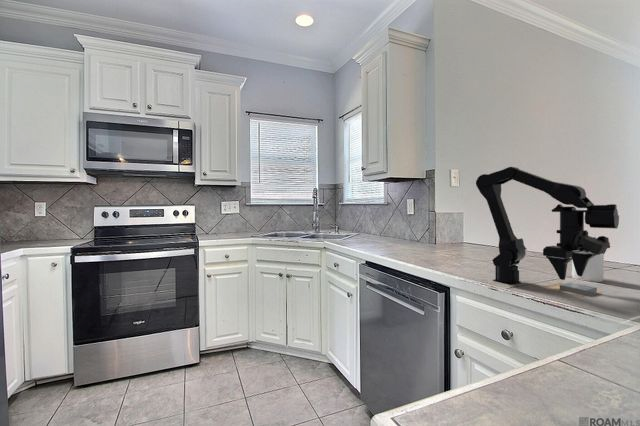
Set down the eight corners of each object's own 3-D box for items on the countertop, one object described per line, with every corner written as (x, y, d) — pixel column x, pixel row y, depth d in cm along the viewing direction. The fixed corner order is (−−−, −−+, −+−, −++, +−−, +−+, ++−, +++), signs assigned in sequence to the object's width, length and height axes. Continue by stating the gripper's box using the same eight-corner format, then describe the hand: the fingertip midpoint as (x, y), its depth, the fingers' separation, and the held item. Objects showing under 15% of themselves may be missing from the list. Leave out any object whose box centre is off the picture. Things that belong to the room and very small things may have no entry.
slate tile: (570, 287, 102) (559, 289, 100) (570, 282, 102) (559, 284, 100) (596, 292, 96) (585, 295, 94) (596, 287, 96) (585, 290, 93)
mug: (594, 275, 118) (594, 247, 118) (607, 283, 107) (608, 252, 107) (566, 274, 122) (566, 246, 121) (576, 281, 111) (576, 251, 111)
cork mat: (540, 288, 104) (540, 287, 104) (560, 283, 108) (560, 282, 108) (583, 298, 93) (583, 296, 93) (603, 292, 97) (603, 291, 97)
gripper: (585, 230, 85) (585, 288, 86) (621, 226, 93) (620, 279, 93) (541, 228, 95) (541, 279, 96) (577, 224, 103) (577, 272, 103)
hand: (571, 277), depth 97 cm, fingers open, 9 cm apart
